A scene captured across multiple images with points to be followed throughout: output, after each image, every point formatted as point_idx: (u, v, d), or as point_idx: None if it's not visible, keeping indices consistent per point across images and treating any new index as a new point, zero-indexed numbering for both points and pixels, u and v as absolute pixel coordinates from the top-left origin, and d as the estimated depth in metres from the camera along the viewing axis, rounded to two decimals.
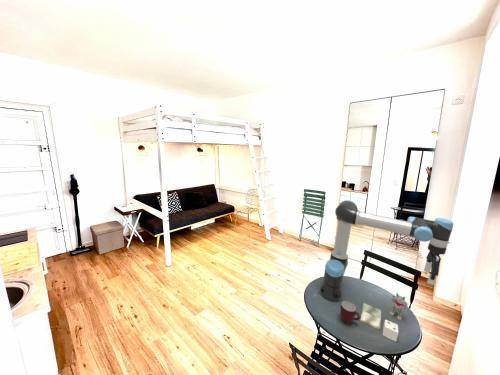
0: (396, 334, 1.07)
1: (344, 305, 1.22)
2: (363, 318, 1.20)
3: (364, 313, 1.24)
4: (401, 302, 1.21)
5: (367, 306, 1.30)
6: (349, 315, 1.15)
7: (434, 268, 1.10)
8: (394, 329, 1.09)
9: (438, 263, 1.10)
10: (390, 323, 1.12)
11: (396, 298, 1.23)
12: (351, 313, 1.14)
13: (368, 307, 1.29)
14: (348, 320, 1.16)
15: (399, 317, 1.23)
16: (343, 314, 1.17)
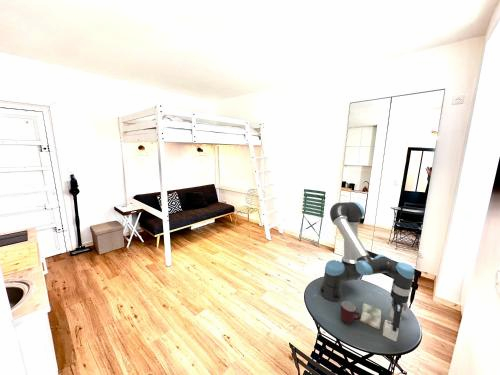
0: None
1: (344, 305, 1.22)
2: (363, 318, 1.20)
3: (364, 313, 1.24)
4: None
5: (367, 306, 1.30)
6: (349, 315, 1.15)
7: (395, 319, 1.01)
8: None
9: (399, 314, 1.01)
10: (390, 323, 1.12)
11: None
12: (351, 313, 1.14)
13: (368, 307, 1.29)
14: (348, 320, 1.16)
15: None
16: (343, 314, 1.17)
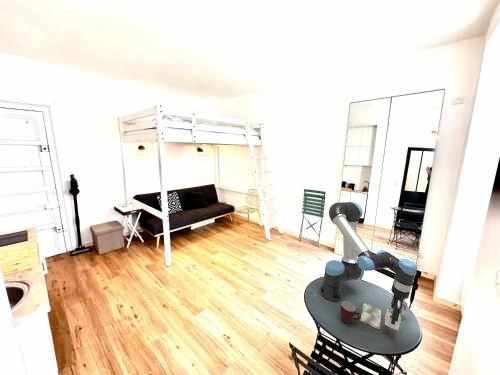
0: (398, 323, 1.06)
1: (344, 305, 1.22)
2: (363, 318, 1.20)
3: (364, 313, 1.24)
4: None
5: (367, 306, 1.30)
6: (349, 315, 1.15)
7: (394, 314, 1.04)
8: None
9: (399, 310, 1.02)
10: None
11: None
12: (351, 313, 1.14)
13: (368, 307, 1.29)
14: (348, 320, 1.16)
15: None
16: (343, 314, 1.17)
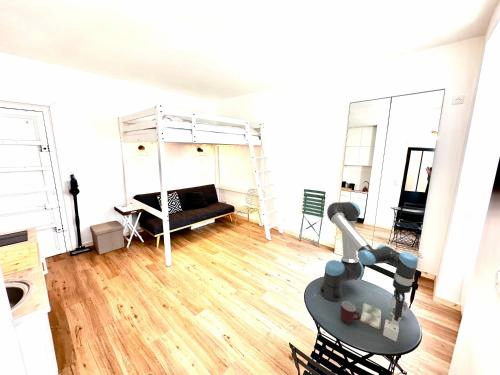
0: (396, 334, 1.07)
1: (344, 305, 1.22)
2: (363, 318, 1.20)
3: (364, 313, 1.24)
4: None
5: (367, 306, 1.30)
6: (349, 315, 1.15)
7: (397, 309, 1.00)
8: (395, 329, 1.09)
9: (401, 303, 1.00)
10: None
11: None
12: (351, 313, 1.14)
13: (368, 307, 1.29)
14: (348, 320, 1.16)
15: None
16: (343, 314, 1.17)
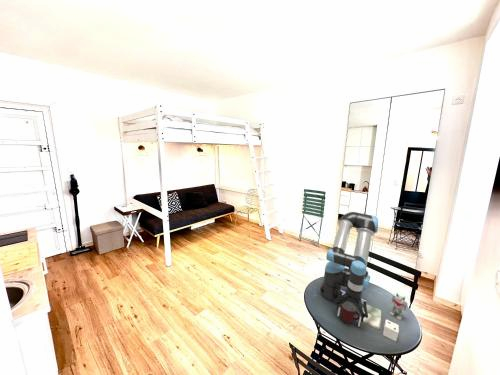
0: (396, 334, 1.07)
1: (344, 305, 1.22)
2: None
3: (364, 313, 1.24)
4: (401, 302, 1.21)
5: (367, 306, 1.30)
6: (349, 315, 1.15)
7: (337, 297, 1.22)
8: (395, 329, 1.09)
9: (339, 295, 1.19)
10: (391, 323, 1.12)
11: (396, 298, 1.23)
12: (351, 313, 1.14)
13: (368, 307, 1.29)
14: (348, 320, 1.16)
15: (399, 317, 1.23)
16: (343, 314, 1.17)
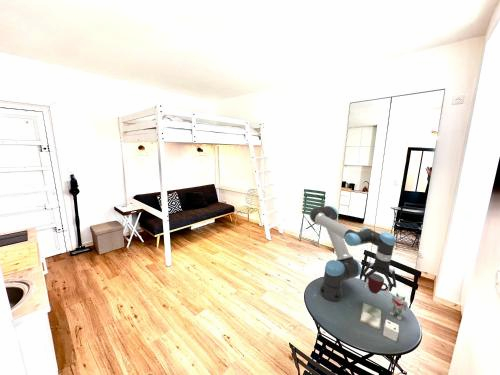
0: (396, 334, 1.07)
1: (371, 277, 1.26)
2: (363, 318, 1.20)
3: (364, 313, 1.24)
4: (401, 302, 1.21)
5: (367, 306, 1.30)
6: (377, 285, 1.19)
7: (364, 269, 1.26)
8: (395, 329, 1.09)
9: None
10: (391, 323, 1.12)
11: (396, 298, 1.23)
12: (379, 283, 1.18)
13: (368, 307, 1.29)
14: (376, 290, 1.20)
15: (399, 317, 1.23)
16: (371, 285, 1.21)
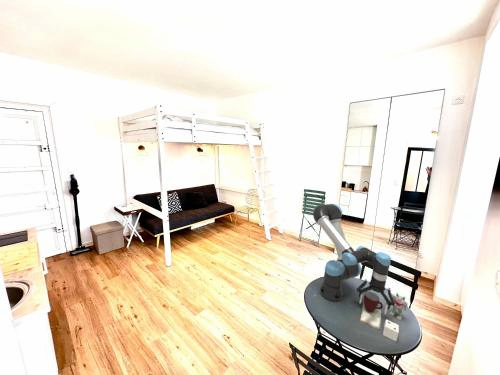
0: (396, 334, 1.07)
1: (367, 295, 1.29)
2: (363, 318, 1.20)
3: (364, 313, 1.24)
4: (401, 302, 1.21)
5: None
6: (373, 304, 1.22)
7: (359, 286, 1.29)
8: (395, 329, 1.09)
9: (362, 284, 1.27)
10: (391, 323, 1.12)
11: (396, 298, 1.23)
12: (375, 302, 1.21)
13: None
14: (372, 309, 1.23)
15: (399, 317, 1.23)
16: (367, 303, 1.24)
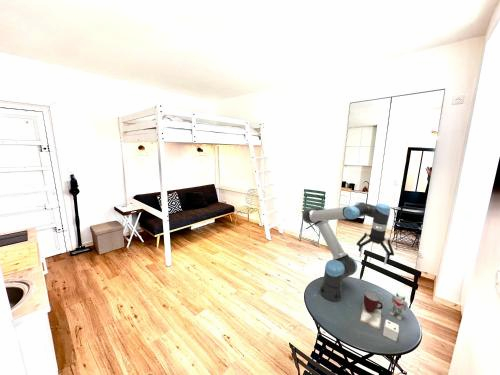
0: (396, 334, 1.07)
1: (367, 295, 1.29)
2: (363, 318, 1.20)
3: (364, 313, 1.24)
4: (401, 302, 1.21)
5: None
6: (373, 304, 1.22)
7: (359, 240, 1.31)
8: (395, 329, 1.09)
9: (362, 237, 1.28)
10: (391, 323, 1.12)
11: (396, 298, 1.23)
12: (375, 302, 1.21)
13: None
14: (372, 309, 1.23)
15: (399, 317, 1.23)
16: (367, 303, 1.24)
